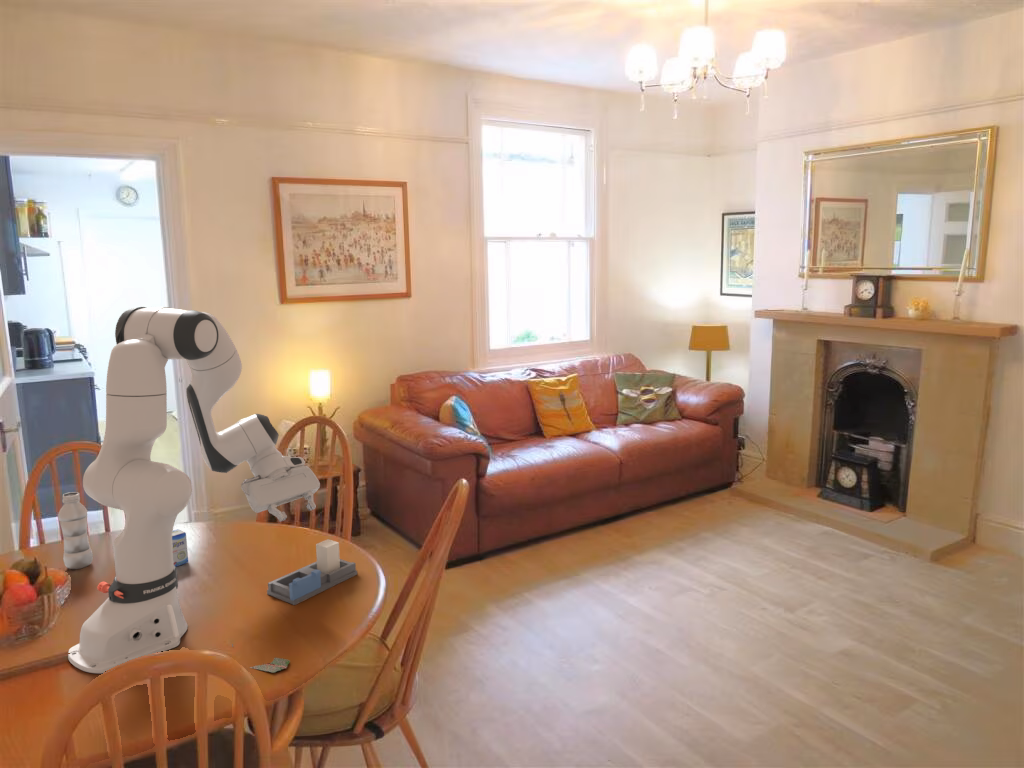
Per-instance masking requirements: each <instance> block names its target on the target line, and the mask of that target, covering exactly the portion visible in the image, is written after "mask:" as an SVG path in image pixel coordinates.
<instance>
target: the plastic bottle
mask: <svg viewBox="0 0 1024 768" xmlns="http://www.w3.org/2000/svg"><path fill="white" fill-rule="evenodd" d="M80 501H81V497H80V492H76V491H72V492H66V493H63V494H62V503H63V505H62V506H61V508H60V509H59V511H58V513H57V514H58V515H57V518H58V520H59V521H58V522H59V525H60V528H61V532H62V538H63V550H64V551H63V554H62V555H63V559H62V560H63V564H64V566H65V567H66V568H67V569H68V570H69V569H70V570H79V569H82V568H83V569H84V568H86V567H88V566H90V565H91V564H92V562H93V560H94V558H93V556H94V554H93V551H92V548H91V545H90V540H89V537H88V509H87V508H86V507H85V505H83V504H82V503H81V502H80Z"/></svg>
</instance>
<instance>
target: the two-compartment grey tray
mask: <svg viewBox="0 0 1024 768" xmlns="http://www.w3.org/2000/svg"><path fill="white" fill-rule="evenodd" d="M356 566H357V565H356V562H353V561H352V562H351V561H348V560H345V559H341V558H340V568H339V569H337V570H335V571H332V572H330V573H328V574H326V573H323V572H321V571H320V570H317V560H316V561H315V562H311V563H310V564H308V565H306V566H303V567H301V568H298V569H296V570H294V571H292V572H290V573H287V574H285V575H282V576H281V577H278V578H276V579H274V580H272V581H269V582H267V589H266V594H267V595H268V596H271V597H273V598H275V599H278V600H280V601H283V602H286V603H288V604H291V605H292V606H296V605H298V604H299V603H302V602H305V601H306V600H308V599H310V598H312V597H314V596H316V595H318V594H321V593H322V592H324V591H326V590H329V589H331V588H332V587H334V586H337V585H338V584H341V583H342V582H345V581H347V580H349V579H350V578H351V579H352V578H353V577H355V576H357V575H358V570H357V567H356Z"/></svg>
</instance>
